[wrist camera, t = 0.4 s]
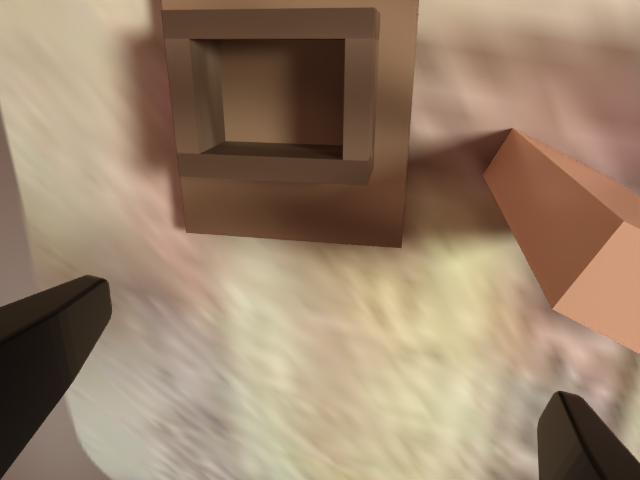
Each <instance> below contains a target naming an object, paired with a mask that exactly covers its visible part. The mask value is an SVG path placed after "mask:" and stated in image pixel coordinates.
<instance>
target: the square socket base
mask: <svg viewBox="0 0 640 480" xmlns="http://www.w3.org/2000/svg"><path fill="white" fill-rule="evenodd" d="M161 4H162V10H161V12H162V21H163V30H164V39H165V48H166V58H167V67H168V76H169V85H170V94H171V104H172V113H173V122H174V131H175V140H176V149H177V159H178V168H179V176H180V179H181V188H182V198H183V207H184V216H185V225H186V233H199V234H213V235H227V236H241V237H255V238H269V239H282V240H296V241H310V242H324V243H338V244H352V245H366V246H380V247H394V248H401V247H402V233H403V219H404V205H405V191H406V177H407V162H408V148H409V134H410V120H411V106H412V91H413V77H414V63H415V49H416V35H417V20H418V6H419V0H161Z"/></svg>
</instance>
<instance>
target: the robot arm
mask: <svg viewBox="0 0 640 480" xmlns="http://www.w3.org/2000/svg"><path fill="white" fill-rule="evenodd" d="M111 314H112V305H111V297H110V289H109V283H108V282H107V280H105V279H103V278H99V277H95V276H91V275H85V276H82V277H80V278H77V279H74V280H72V281H69V282H66V283H64V284H61V285H58V286H56V287H53V288H50V289H48V290H45V291H42V292H40V293H37V294H34V295H32V296H29V297H26V298H24V299H21V300H18V301H16V302H13V303H10V304H8V305H5V306H2V307H0V479H1V478H2V477H3V476H4V474H5V473H6V472H7V470H8V469H9V467H10V466H11V465H12V463H13V462H14V461H15V459H16V458H17V457H18V455H19V454H20V453H21V451H22V450H23V449H24V447H25V446H26V445H27V443H28V442H29V441H30V439H31V438H32V437H33V435H34V434H35V433H36V431H37V430H38V428H39V427H40V426H41V424H42V423H43V422H44V420H45V419H46V417H47V416H48V415H49V414H50V412H51V411H52V410H53V408H54V407H55V406H56V404H57V403H58V402H59V400H60V399H61V398H62V396H63V395H64V394H65V392H66V391H67V389H68V388H69V387H70V385H71V384H72V382H73V381H74V379H75V378H76V376H77V374H78V373H79V371H80V370H81V368H82V366H83V364H84V363H85V361H86V359H87V358H88V356H89V354H90V353H91V351H92V349H93V348H94V346H95V344H96V343H97V341H98V339H99V337H100V336H101V334H102V332H103V331H104V329H105V327H106V326H107V324H108V322H109V320H110V318H111ZM537 441H538V466H539V480H640V463H639V461H638V460H637V459H636V458H635V457H634V456H633V455H632V453H631V452H630V451H629V450H628V449H627V448H626V447H625V446H624V444H623V443H622V442H621V441H620V440H619V439H618V438H617V436H616V435H615V434H614V433H613V432H612V431H611V430H610V428H609V427H608V426H607V425H606V424H605V423H604V422H603V421H602V419H601V418H600V417H599V416H598V415H597V414H596V413H595V411H594V410H593V409H592V408H591V407H590V406H589V405H588V403H587V402H586V401H585V400H584V399H583V398H582V397H580V396H579V395H576V394H572V393H568V392H563V391H557V392H555V393H554V394H553V395H552V397H551V399H550V401H549V402H548V404H547V406H546V408H545V409H544V411H543V413H542V415H541V416H540V418H539V421H538V426H537Z"/></svg>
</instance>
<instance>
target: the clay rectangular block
mask: <svg viewBox="0 0 640 480" xmlns="http://www.w3.org/2000/svg"><path fill="white" fill-rule="evenodd" d="M483 177H484V179H485V181H486V182H487V184H488V186H489V188H490V190H491V192H492V194H493V196H494V198H495V200H496V202H497V204H498V206H499V208H500V209H501V211H502V213H503V215H504V217H505V219H506V221H507V223H508V225H509V227H510V229H511V231H512V233H513V235H514V236H515V238H516V240H517V242H518V244H519V246H520V248H521V250H522V252H523V254H524V256H525V258H526V260H527V262H528V263H529V265H530V267H531V269H532V271H533V273H534V275H535V277H536V279H537V281H538V283H539V285H540V287H541V289H542V290H543V292H544V294H545V296H546V298H547V300H548V302H549V304H550V306H551V308H552V309H553V310H555V311H557V312H559V313H561V314H563V315H565V316H567V317H569V318H571V319H572V320H574V321H576V322H578V323H580V324H582V325H584V326H586V327H588V328H590V329H592V330H594V331H596V332H598V333H600V334H602V335H604V336H606V337H608V338H610V339H612V340H613V341H615V342H617V343H619V344H621V345H623V346H625V347H627V348H629V349H631V350H633V351H635V352H637V353H639V354H640V197H638V196H637V195H635V194H634V193H632V192H631V191H629V190H628V189H626V188H625V187H623V186H622V185H620V184H619V183H617V182H616V181H614V180H613V179H611V178H609V177H607V176H605V175H603V174H601V173H599V172H597V171H595V170H593V169H591V168H589V167H588V166H586V165H584V164H582V163H580V162H578V161H576V160H574V159H572V158H570V157H568V156H566V155H564V154H562V153H560V152H558V151H556V150H554V149H552V148H551V147H549V146H547V145H545V144H543V143H541V142H539V141H537V140H535V139H533V138H531V137H529V136H527V135H525V134H523V133H521V132H519V131H517V130H516V129H514V128H513V129H512V130H511V132H510V133H509V135H508V136H507V138H506V139H505V141H504V143H503V144H502V146H501V147H500V149H499V150H498V152H497V154H496V155H495V157H494V158H493V160H492V161H491V163H490V164H489V166H488V168H487V169H486V171H485V172H484V174H483Z"/></svg>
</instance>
